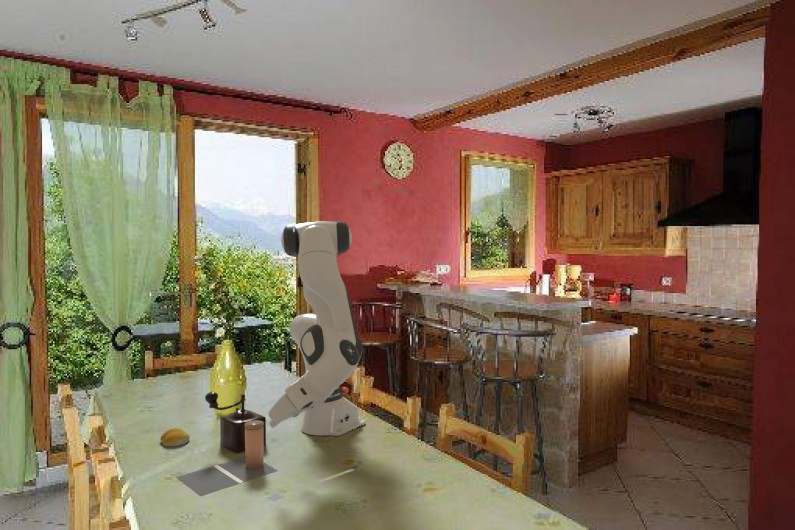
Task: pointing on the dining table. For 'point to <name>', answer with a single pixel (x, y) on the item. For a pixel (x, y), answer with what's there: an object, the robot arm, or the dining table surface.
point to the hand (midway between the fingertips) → (283, 420)
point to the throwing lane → (222, 476)
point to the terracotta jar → (254, 444)
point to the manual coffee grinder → (234, 423)
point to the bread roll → (175, 437)
